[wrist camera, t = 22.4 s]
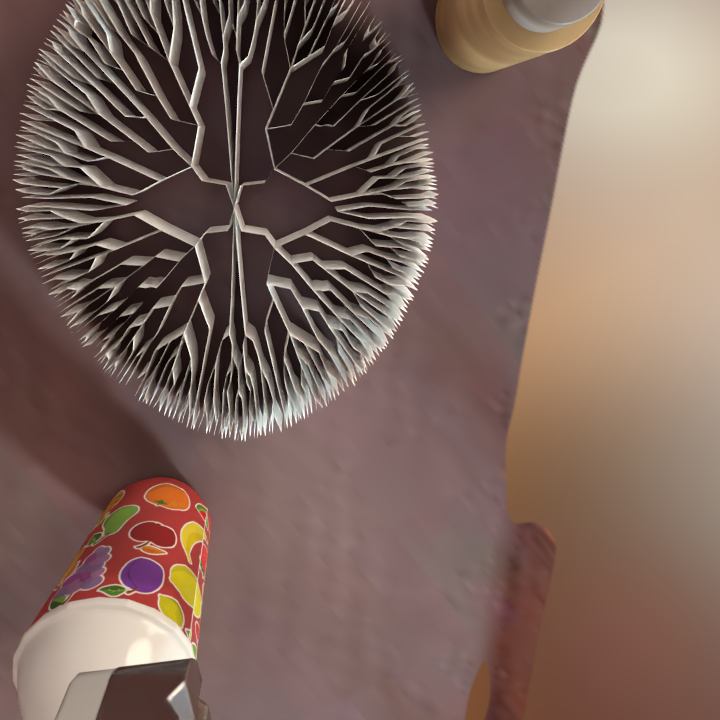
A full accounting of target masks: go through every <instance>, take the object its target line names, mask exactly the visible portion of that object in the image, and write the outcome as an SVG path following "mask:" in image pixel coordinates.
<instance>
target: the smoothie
mask: <svg viewBox="0 0 720 720" xmlns="http://www.w3.org/2000/svg"><path fill="white" fill-rule="evenodd" d="M210 529H211V519H210V515H209V512H208V508H207V507H206V505H205V504H204V502H203V501H202V500H201V498H200V497H199V496H198V494H197V493H196V491H195V490H194V489H192V488H191V487H189V486H188V485H187V484H185V483H184V482H181V481H178V480H176V479H173V478H166V477H154V478H149V479H144V480H142V481H139V482H135V483H133V484H131V485H129V486H127V487H126V488H124V489H122V490H121V491H120V492H119V493H118V494H117V495H116V496H115V497H114V498H113V499H112V500H111V502H110V503H109V505H108V507H107V508H106V510H105V511H104V513H103V514H102V516H101V517H100V519H99V521H98V522H97V524H96V525H95V527H94V528H93V530H92V531H91V533H90V535H89V536H88V538H87V539H86V541H85V542H84V544H83V545H82V547H81V549H80V550H79V552H78V553H77V555H76V556H75V558H74V559H73V561H72V563H71V564H70V566H69V567H68V569H67V570H66V572H65V573H64V575H63V577H62V578H61V580H60V581H59V583H58V584H57V586H56V588H55V589H54V591H53V592H52V594H51V595H50V597H49V598H48V600H47V602H46V603H45V605H44V606H43V608H42V609H41V611H40V612H39V614H38V616H37V617H36V619H35V620H34V622H33V624H32V625H31V627H30V628H29V629H28V630H27V631H26V632H25V633H24V635H23V636H22V638H21V640H20V643H19V645H18V647H17V649H16V651H15V653H14V655H13V677H12V679H13V682H14V684H15V687H16V689H17V700H18V708H19V710H20V713H21V716H22V718H23V720H54V719H55V717H56V715H57V712H58V710H59V707H60V705H61V703H62V700H63V698H64V695H65V693H66V691H67V688H68V686H69V684H70V682H71V681H72V680H73V679H74V678H75V677H76V675H77V674H78V673H80V672H89V671H98V670H106V669H115V668H118V667H123V666H131V665H139V664H147V663H155V662H164V661H172V660H180V659H188V658H193V659H195V660H196V656H197V647H198V638H199V629H200V620H201V611H202V602H203V593H204V583H205V574H206V565H207V556H208V547H209V538H210Z"/></svg>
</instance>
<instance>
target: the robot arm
mask: <svg viewBox="0 0 720 720" xmlns="http://www.w3.org/2000/svg"><path fill="white" fill-rule="evenodd" d="M201 683H202V677H201V674H200V670H199V666H198V663H197V660H195V659H193V658H188V659H180V660H172V661H164V662H155V663H147V664H139V665H131V666H123V667H118V668H115V669H106V670H98V671H89V672H80V673H78V674H77V675H76V677H75V678H74V679H73V680H72V681H71V682H70V684H69V686H68V688H67V691H66V693H65V695H64V698H63V700H62V703H61V705H60V707H59V710H58V712H57V715H56V717H55V719H54V720H211V716H210V712H209V707H208V704H206V703H205V702H204V701H202V700H201V699H200V698H199V695H200V689H201Z"/></svg>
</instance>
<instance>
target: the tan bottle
mask: <svg viewBox="0 0 720 720" xmlns="http://www.w3.org/2000/svg"><path fill="white" fill-rule="evenodd" d="M603 2H604V0H438V2H437V6H436V12H435V28H436V34H437V38H438V41H439V43H440V46H441V48H442V50H443V51H444V53H445V54H446V56H447V57H448V58H449V59H450V60H451V61H452V62H453V63H454V64H455V65H457V66H458V67H460V68H462V69H464V70H466V71H469V72H473V73H490V72H494V71H497V70H500V69H503V68H506V67H509V66H512V65H514V64H517V63H520V62H523V61H526V60H529V59H532V58H535V57H538V56H541V55H544V54H547V53H550V52H552V51H555V50H558V49H561V48H563V47H565V46H567V45H569V44H571V43H572V42H574V41H575V40H577V39H578V38H579V37H580V36H581V35H583V34H584V33H585V31H586V30H587V29H588V28H589V27H590V26H591V24H592V23H593V22H594V20H595V19H596V17H597V15H598V13H599V12H600V9H601V7H602V5H603Z"/></svg>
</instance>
